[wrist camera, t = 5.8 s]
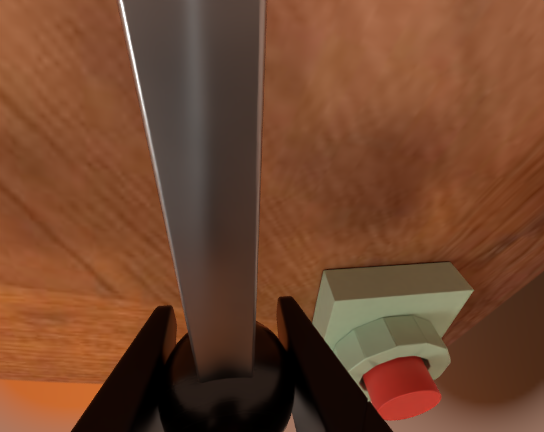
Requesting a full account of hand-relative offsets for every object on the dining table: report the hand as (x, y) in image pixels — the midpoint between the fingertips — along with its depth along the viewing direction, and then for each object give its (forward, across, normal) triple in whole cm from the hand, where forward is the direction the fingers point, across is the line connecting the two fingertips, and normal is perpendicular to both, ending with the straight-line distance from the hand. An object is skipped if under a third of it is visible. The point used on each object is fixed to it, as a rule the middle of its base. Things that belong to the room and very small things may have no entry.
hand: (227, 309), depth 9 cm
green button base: (+6, -9, +10) cm, 15 cm away
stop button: (+2, -9, +10) cm, 14 cm away
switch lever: (-1, 0, -10) cm, 10 cm away
